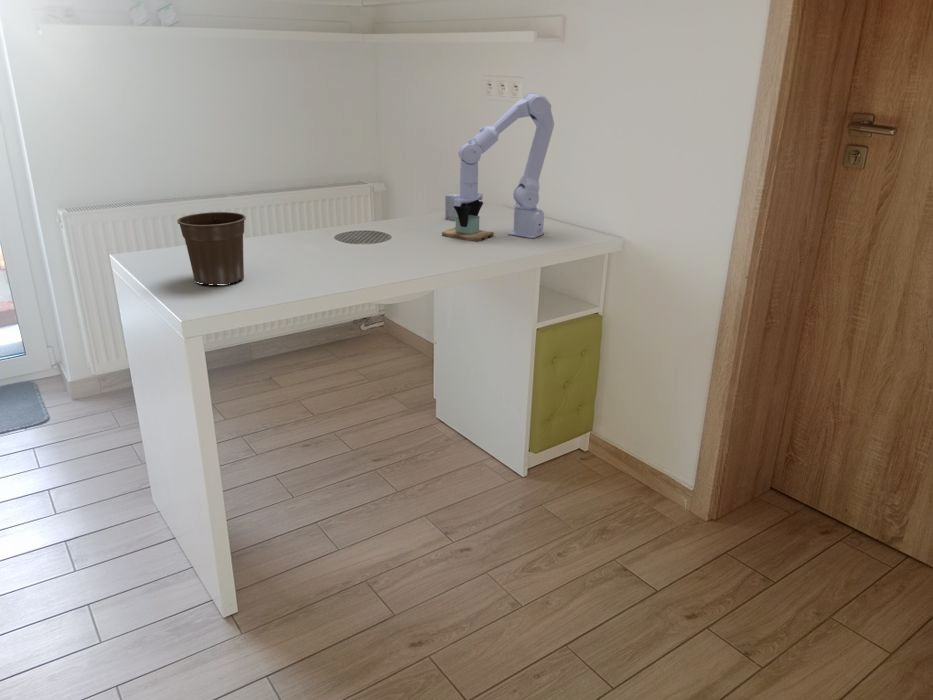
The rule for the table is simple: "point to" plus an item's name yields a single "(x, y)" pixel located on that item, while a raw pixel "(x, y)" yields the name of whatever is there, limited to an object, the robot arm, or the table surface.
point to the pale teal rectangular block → (468, 225)
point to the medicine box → (450, 207)
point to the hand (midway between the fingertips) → (468, 225)
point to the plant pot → (215, 246)
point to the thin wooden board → (468, 235)
